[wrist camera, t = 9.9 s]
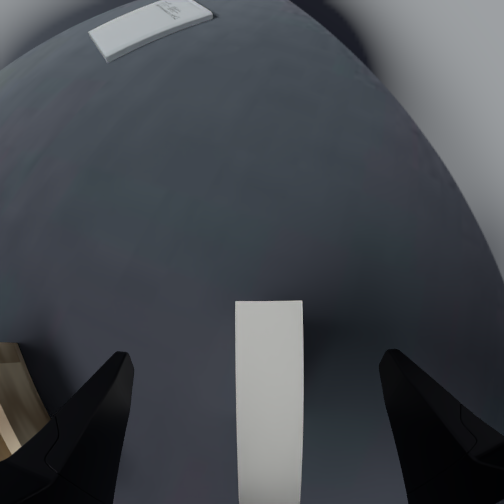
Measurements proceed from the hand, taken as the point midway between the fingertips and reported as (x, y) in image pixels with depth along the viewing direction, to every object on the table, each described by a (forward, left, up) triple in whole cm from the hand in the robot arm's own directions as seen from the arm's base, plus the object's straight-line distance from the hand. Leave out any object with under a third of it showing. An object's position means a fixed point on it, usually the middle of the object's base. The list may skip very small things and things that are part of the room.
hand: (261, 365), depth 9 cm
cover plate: (0, +1, -8) cm, 8 cm away
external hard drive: (+17, -30, -9) cm, 35 cm away
